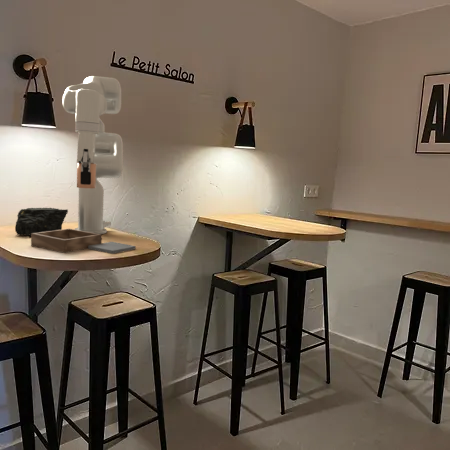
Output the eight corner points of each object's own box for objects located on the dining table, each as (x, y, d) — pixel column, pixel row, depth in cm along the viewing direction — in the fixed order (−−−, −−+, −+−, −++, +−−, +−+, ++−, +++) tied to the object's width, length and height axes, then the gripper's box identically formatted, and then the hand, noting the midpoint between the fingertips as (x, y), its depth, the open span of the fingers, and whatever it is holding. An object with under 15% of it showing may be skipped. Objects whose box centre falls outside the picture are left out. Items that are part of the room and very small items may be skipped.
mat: (111, 244, 160) (111, 241, 160) (135, 249, 154) (135, 246, 154) (88, 248, 150) (88, 245, 150) (112, 253, 145) (112, 250, 145)
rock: (22, 230, 177) (14, 236, 162) (21, 206, 176) (13, 210, 161) (69, 231, 181) (65, 237, 167) (69, 207, 180) (65, 211, 166)
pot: (87, 186, 154) (87, 162, 153) (99, 188, 151) (99, 163, 149) (72, 186, 149) (73, 162, 148) (85, 188, 146) (85, 163, 144)
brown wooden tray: (69, 239, 164) (69, 228, 163) (101, 245, 156) (101, 234, 156) (31, 245, 150) (31, 233, 149) (64, 252, 142) (64, 240, 142)
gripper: (77, 129, 154) (77, 181, 157) (72, 126, 138) (71, 184, 140) (100, 131, 156) (99, 182, 159) (97, 128, 140) (96, 186, 142)
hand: (86, 183), depth 149 cm, fingers closed on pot, 6 cm apart
